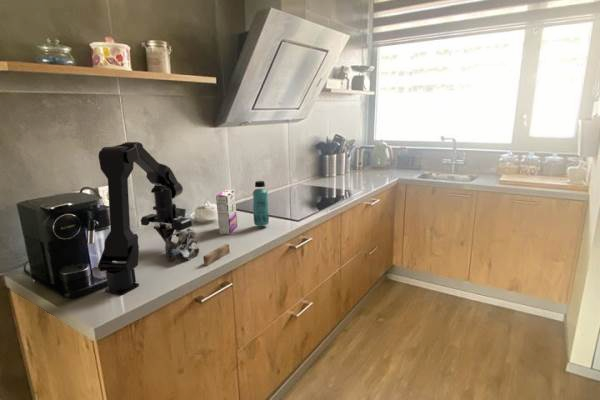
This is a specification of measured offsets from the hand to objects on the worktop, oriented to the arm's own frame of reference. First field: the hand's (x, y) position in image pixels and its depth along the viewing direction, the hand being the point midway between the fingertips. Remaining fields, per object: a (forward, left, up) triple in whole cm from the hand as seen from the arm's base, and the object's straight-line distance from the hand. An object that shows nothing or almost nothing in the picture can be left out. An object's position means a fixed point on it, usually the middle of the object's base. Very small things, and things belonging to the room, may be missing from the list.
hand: (168, 244), depth 130 cm
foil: (-1, -8, -2) cm, 8 cm away
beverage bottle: (+36, -18, -2) cm, 40 cm away
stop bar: (0, -22, -2) cm, 22 cm away
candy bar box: (+27, -7, -2) cm, 28 cm away
